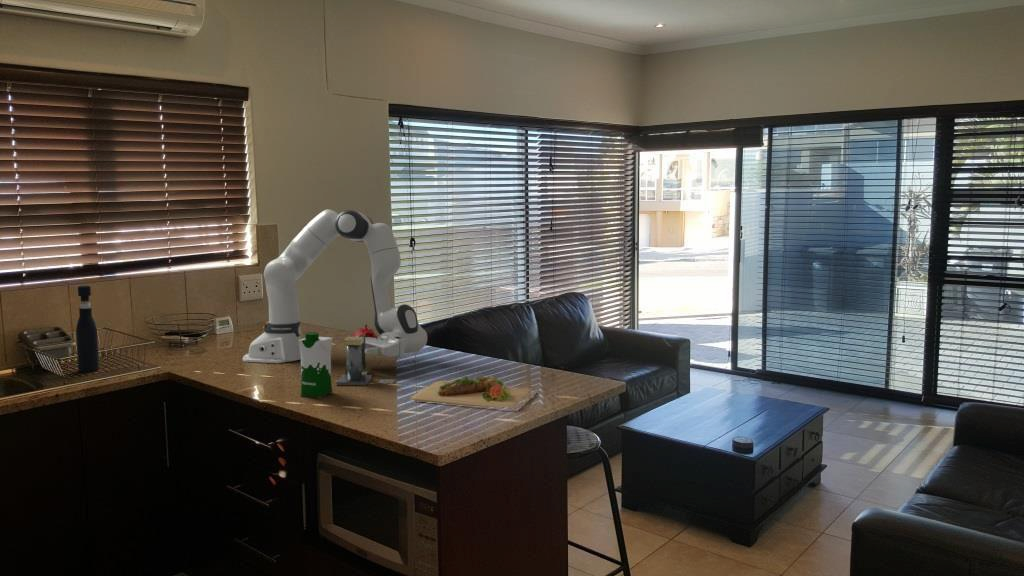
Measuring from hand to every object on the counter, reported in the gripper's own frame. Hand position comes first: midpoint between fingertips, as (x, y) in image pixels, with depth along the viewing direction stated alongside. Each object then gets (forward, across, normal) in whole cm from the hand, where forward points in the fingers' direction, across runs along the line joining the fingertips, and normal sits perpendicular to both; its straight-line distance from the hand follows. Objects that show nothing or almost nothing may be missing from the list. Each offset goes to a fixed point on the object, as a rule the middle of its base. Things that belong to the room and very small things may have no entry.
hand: (357, 349), depth 263 cm
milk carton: (+25, +13, +9) cm, 29 cm away
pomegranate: (-31, -39, +9) cm, 51 cm away
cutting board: (-9, +50, +10) cm, 52 cm away
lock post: (+1, +8, +9) cm, 12 cm away
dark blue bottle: (+65, -70, +9) cm, 96 cm away
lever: (+3, +4, +7) cm, 9 cm away
